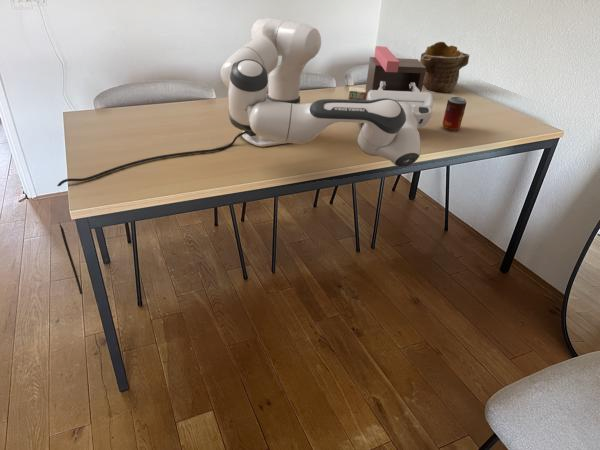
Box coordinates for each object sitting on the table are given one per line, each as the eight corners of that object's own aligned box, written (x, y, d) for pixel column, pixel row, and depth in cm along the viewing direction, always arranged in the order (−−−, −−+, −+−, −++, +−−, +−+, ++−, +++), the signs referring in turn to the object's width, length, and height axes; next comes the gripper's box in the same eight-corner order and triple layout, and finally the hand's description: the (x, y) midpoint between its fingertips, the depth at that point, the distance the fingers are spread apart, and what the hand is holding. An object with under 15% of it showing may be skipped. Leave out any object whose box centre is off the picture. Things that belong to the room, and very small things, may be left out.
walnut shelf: (412, 137, 171) (426, 67, 156) (365, 135, 170) (375, 65, 155) (404, 125, 181) (417, 59, 166) (360, 124, 180) (369, 57, 165)
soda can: (445, 124, 185) (452, 94, 178) (461, 128, 181) (470, 98, 174) (438, 128, 180) (445, 98, 173) (455, 133, 177) (463, 103, 170)
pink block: (397, 72, 149) (399, 61, 147) (385, 71, 149) (387, 61, 147) (384, 56, 167) (386, 46, 165) (374, 55, 167) (375, 46, 165)
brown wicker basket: (457, 84, 205) (437, 32, 203) (417, 105, 225) (398, 58, 223) (483, 76, 217) (464, 27, 216) (443, 96, 237) (425, 52, 236)
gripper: (365, 123, 138) (362, 89, 144) (430, 125, 139) (425, 91, 145) (369, 109, 132) (366, 74, 138) (437, 112, 133) (431, 77, 139)
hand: (397, 83), depth 142 cm, fingers open, 8 cm apart
